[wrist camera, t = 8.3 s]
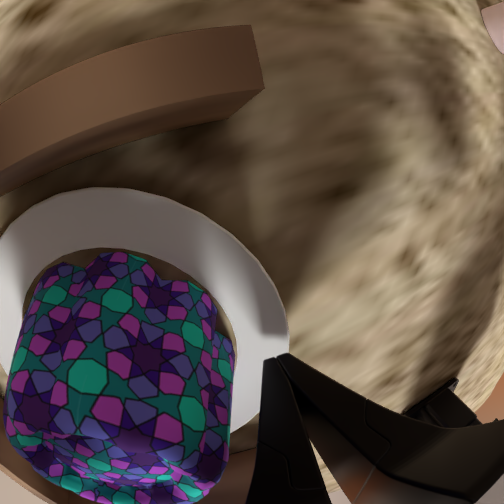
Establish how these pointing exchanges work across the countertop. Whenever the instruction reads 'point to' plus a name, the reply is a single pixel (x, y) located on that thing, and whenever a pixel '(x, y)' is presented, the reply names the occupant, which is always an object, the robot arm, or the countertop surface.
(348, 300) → the countertop surface
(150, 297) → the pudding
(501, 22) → the smoothie
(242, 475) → the bay
